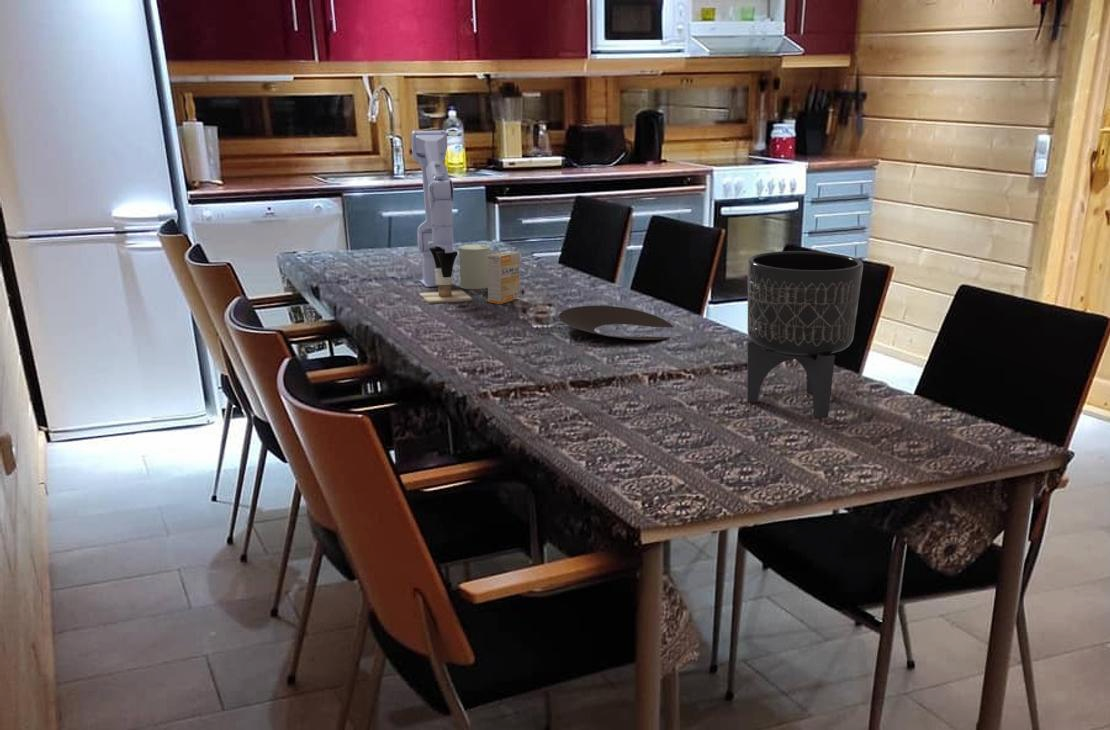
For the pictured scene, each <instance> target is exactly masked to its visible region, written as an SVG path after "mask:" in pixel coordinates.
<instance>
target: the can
mask: <svg viewBox="0 0 1110 730" xmlns="http://www.w3.org/2000/svg"><path fill="white" fill-rule="evenodd" d="M458 253H459V255H458V256H459V278H460V280H459V281H460V283H459V284H460V285H459V287H460V289H461V288H462V289H466V290H482V289H483V290H484V289H488V270H487V255H489V254H491V246H490V245H487V244H483V243H482V244H481V243H478V244H477V243H476V244H474V243H473V244H472V243H471V244H465V245H461V246H459V247H458Z"/></svg>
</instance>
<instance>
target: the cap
mask: <svg viewBox="0 0 1110 730" xmlns="http://www.w3.org/2000/svg"><path fill="white" fill-rule="evenodd" d="M434 271H435V277H436V284H437V285H450V284H452V283H453V274H452V275H451V277H445V278H444V277H443V275H442V270H441V268H436V269H434ZM453 271H454V269H453V270H452V273H453ZM453 284H454V283H453Z"/></svg>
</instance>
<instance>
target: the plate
mask: <svg viewBox="0 0 1110 730" xmlns="http://www.w3.org/2000/svg"><path fill="white" fill-rule="evenodd" d="M558 318H559V321H560V322H562V323H563V324H565V325H567V326H569V327H571V328H574V329H577V330H580V331H583V332H588V333H591V334H596V335H600V336H603V334H600V333H598V332H596V331H595V330H596V328H598V327H602V326H603V327H604V326H608V325H630V326H631V325H633V326H641V327H651V328H673V329H674V328H675V326H674V325H672V324H671V323H670V322H668V321H667V320H665V319H664V318H662V317H659V316H657V315H655V314H651V313H648V312H645V311H641V310H638V309H633V308H632V309H631V308H627V307H621V306H620V307H619V306H613V305H612V306H611V305H582V306H575V307H571V308H567V309H565V310H562V311H561V312H560V313H559V314H558ZM618 332H619V329H618V327H616V328H615V330H614V333H616V334H617V333H618ZM604 336H606V337H608V335H607V334H606V335H605V334H604ZM610 337H612V338H620V339H628V340H640V341H641V340H643V341H644V340H645V341H651V340H652V341H655V340H656V341H657V340H658V341H659V340H665V339H671V338H672V337H671V336H647V335H646V336H636V335H635V336H617V335H615V336H614V335H610Z"/></svg>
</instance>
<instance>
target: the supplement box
mask: <svg viewBox="0 0 1110 730" xmlns="http://www.w3.org/2000/svg"><path fill="white" fill-rule="evenodd" d="M487 270H488V288H487V300H488V301H487V302H488V303H490V304H497V305H503V304H507V303H509V302H513V301H515V300H514V299H515V298H517V297H518V296H520V295H521V294H520V252H519V251H509V250H508V251H506V250H505V251H501V252H497V253H490V254H489V255H487Z"/></svg>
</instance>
